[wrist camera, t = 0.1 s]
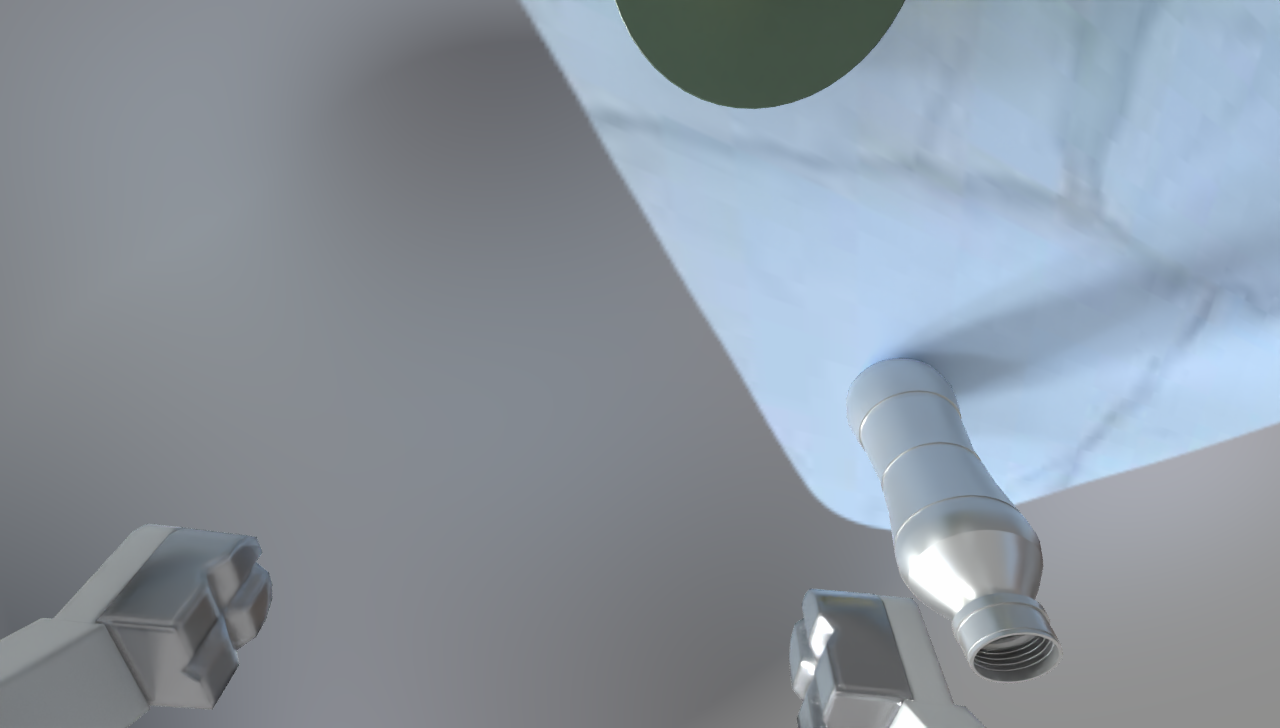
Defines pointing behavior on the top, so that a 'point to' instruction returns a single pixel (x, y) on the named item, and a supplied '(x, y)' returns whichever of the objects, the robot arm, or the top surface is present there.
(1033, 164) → the top surface
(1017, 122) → the top surface
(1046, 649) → the plastic bottle
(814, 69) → the tin lid
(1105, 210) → the top surface
